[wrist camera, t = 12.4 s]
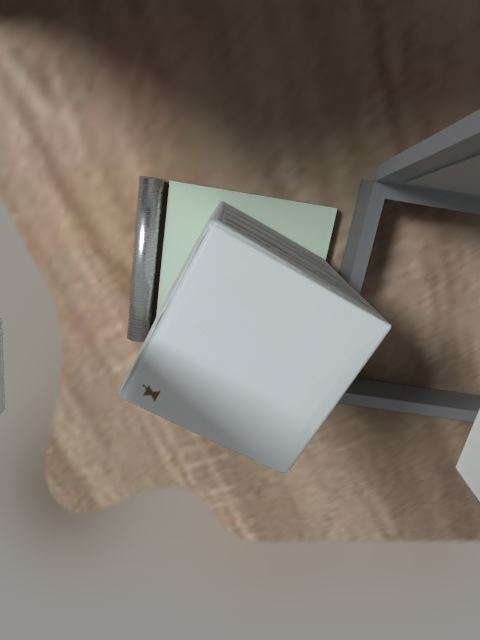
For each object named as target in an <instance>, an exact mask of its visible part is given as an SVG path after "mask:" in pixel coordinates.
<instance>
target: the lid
mask: <svg viewBox="0 0 480 640" xmlns="http://www.w3.org/2000/svg"><path fill="white" fill-rule="evenodd" d="M375 181H377V182H383V183H389V184H394V185H400V186H406V187H412V188H418V189H424V190H430V191H436V192H441V193H447V194H453V195H459V196H465V197H471V198H477V199H480V109H479V110H477V111H475V112H474V113H472V114H470V115H468V116H466V117H465V118H463V119H461V120H459V121H457V122H456V123H454V124H452V125H450V126H448V127H447V128H445V129H443V130H441V131H439V132H438V133H436V134H434V135H432V136H430V137H429V138H427V139H425V140H423V141H421V142H420V143H418V144H416V145H414V146H412V147H411V148H409V149H407V150H405V151H403V152H402V153H400V154H398V155H396V156H394V157H393V158H391V159H389V160H387V161H385V162H384V163H382V164H380V165H378V166H377V171H376V176H375Z"/></svg>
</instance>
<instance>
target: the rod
mask: <svg viewBox="0 0 480 640" xmlns="http://www.w3.org/2000/svg"><path fill="white" fill-rule="evenodd" d="M163 188H164V180H163V179H159V178H153V177H146V176H140V178H139V191H138V203H137V216H136V229H135V242H134V255H133V268H132V281H131V293H130V306H129V319H128V332H127V338H128V339H130V340H132V341H137V342H142V341H145V339H146V337H147V335H148V333H149V331H150V324H151V313H152V303H153V292H154V282H155V271H156V261H157V251H158V240H159V230H160V219H161V209H162V199H163Z"/></svg>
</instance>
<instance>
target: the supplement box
mask: <svg viewBox="0 0 480 640" xmlns="http://www.w3.org/2000/svg"><path fill="white" fill-rule="evenodd" d="M390 329H391V325H390V323H389V322H388V321H387V320H386V319H385V318H384V317H383V316H382V315H381V314H379V313H378V312H377V311H376V310H375V309H374V308H373V307H372V306H371V305H370V304H369V303H368V302H367V301H366V300H365V299H364V298H363V297H362V296H361V295H360V294H359V293H357V292H356V291H355V290H354V289H353V288H352V287H351V286H350V285H349V284H348V283H347V282H346V281H345V280H344V279H343V278H342V277H341V276H340V275H339V274H338V273H337V272H336V271H335V270H334V269H333V268H332V267H331V266H330V265H329V264H328V263H327V262H326V261H325V260H324V259H323V258H322V257H320V256H318V255H316V254H315V253H313V252H311V251H309V250H308V249H306V248H304V247H302V246H301V245H299V244H297V243H296V242H294V241H292V240H290V239H289V238H287V237H285V236H284V235H282V234H280V233H278V232H277V231H275V230H273V229H271V228H270V227H268V226H266V225H264V224H263V223H261V222H259V221H258V220H256V219H254V218H252V217H251V216H249V215H247V214H245V213H243V212H242V211H240V210H238V209H236V208H235V207H233V206H231V205H229V204H227V203H225V202H223V201H220V202H219V203H218V205H217V206H216V208H215V210H214V211H213V213H212V215H211V216H210V218H209V220H208V221H207V223H206V225H205V227H204V228H203V230H202V232H201V234H200V235H199V237H198V239H197V241H196V243H195V245H194V246H193V248H192V250H191V252H190V253H189V255H188V257H187V259H186V261H185V263H184V264H183V266H182V268H181V270H180V272H179V274H178V276H177V278H176V279H175V281H174V283H173V285H172V287H171V289H170V291H169V293H168V295H167V297H166V299H165V301H164V303H163V305H162V307H161V309H160V311H159V313H158V315H157V317H156V319H155V321H154V323H153V325H152V327H151V329H150V331H149V333H148V335H147V337H146V339H145V341H144V343H143V345H142V347H141V349H140V351H139V353H138V355H137V357H136V359H135V361H134V363H133V365H132V367H131V369H130V371H129V373H128V375H127V377H126V379H125V381H124V383H123V385H122V387H121V389H120V391H119V397H120V398H121V399H124V400H126V401H128V402H131V403H133V404H135V405H137V406H140V407H142V408H144V409H146V410H148V411H150V412H152V413H154V414H156V415H158V416H160V417H162V418H165V419H167V420H169V421H171V422H173V423H175V424H178V425H180V426H182V427H184V428H186V429H188V430H190V431H192V432H194V433H196V434H199V435H201V436H203V437H205V438H207V439H210V440H212V441H214V442H216V443H218V444H220V445H222V446H224V447H226V448H229V449H231V450H233V451H235V452H237V453H239V454H242V455H244V456H246V457H248V458H250V459H252V460H254V461H257V462H259V463H261V464H263V465H265V466H267V467H269V468H271V469H274V470H276V471H279V472H281V473H287V472H288V471H289V470H290V468H291V467H292V466H293V464H294V463H295V461H296V460H297V458H298V457H299V456H300V454H301V453H302V452H303V450H304V449H305V447H306V446H307V445H308V443H309V442H310V440H311V439H312V438H313V436H314V435H315V434H316V432H317V431H318V429H319V428H320V427H321V425H322V424H323V422H324V421H325V420H326V418H327V417H328V416H329V414H330V413H331V411H332V410H333V409H334V407H335V406H336V404H337V403H338V402H339V400H340V399H341V397H342V396H343V395H344V393H345V392H346V390H347V389H348V388H349V386H350V385H351V383H352V382H353V381H354V379H355V378H356V376H357V375H358V374H359V372H360V371H361V369H362V368H363V367H364V365H365V364H366V363H367V361H368V360H369V358H370V357H371V356H372V354H373V353H374V351H375V350H376V349H377V347H378V346H379V344H380V343H381V342H382V340H383V339H384V337H385V336H386V335H387V333H388V332H389V331H390Z"/></svg>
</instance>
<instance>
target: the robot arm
mask: <svg viewBox="0 0 480 640" xmlns="http://www.w3.org/2000/svg"><path fill="white" fill-rule="evenodd" d="M4 391H5V390H4V361H3V332H2V317H0V414H1V413H2V412H3V411H4V410H5V393H4ZM456 469H457V471H458V472H459V473H460V475H461V476H462V478H463V479H464V480H465V482H466V483H467V484H468V486H469V487H470V489H471V490H472V491H473V493H474V494H475V496H476V497H477V498H478V500H479V501H480V409H479V411H478V414H477V416H476V419H475V421H474V424H473V426H472V429H471V431H470V434H469V436H468V439H467V441H466V443H465V446H464V448H463V451H462V453H461V456H460V458H459V461H458V463H457V466H456Z"/></svg>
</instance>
